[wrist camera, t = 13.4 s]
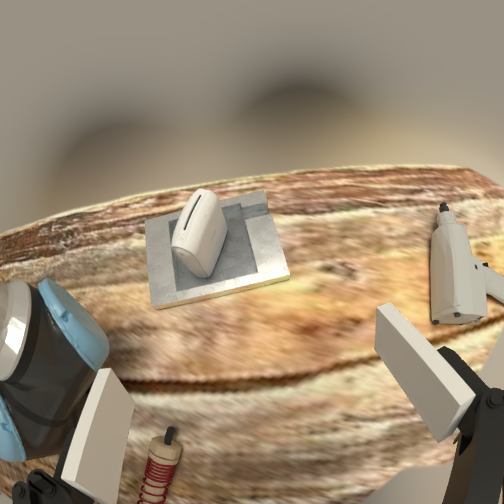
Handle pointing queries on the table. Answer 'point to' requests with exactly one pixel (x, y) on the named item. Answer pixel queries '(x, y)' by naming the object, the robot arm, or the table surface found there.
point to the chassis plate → (229, 261)
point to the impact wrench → (459, 275)
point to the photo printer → (200, 233)
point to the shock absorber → (160, 468)
